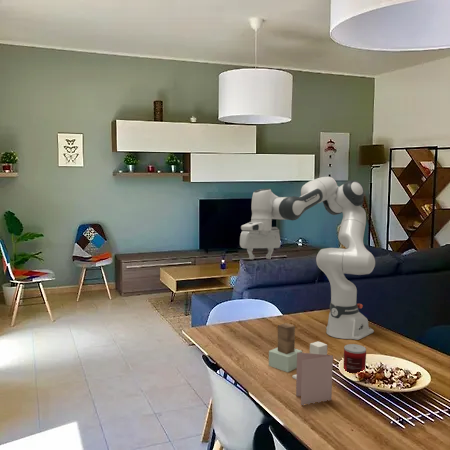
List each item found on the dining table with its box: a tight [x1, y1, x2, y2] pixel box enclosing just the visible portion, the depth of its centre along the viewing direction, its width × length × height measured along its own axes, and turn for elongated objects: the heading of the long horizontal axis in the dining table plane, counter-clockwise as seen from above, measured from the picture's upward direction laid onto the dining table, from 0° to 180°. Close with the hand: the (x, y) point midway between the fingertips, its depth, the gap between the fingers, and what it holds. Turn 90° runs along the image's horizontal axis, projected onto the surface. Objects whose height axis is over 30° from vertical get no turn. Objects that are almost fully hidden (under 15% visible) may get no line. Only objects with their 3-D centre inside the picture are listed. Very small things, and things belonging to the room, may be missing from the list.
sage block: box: [268, 346, 303, 373], centre depth 191 cm, size 9×9×6 cm
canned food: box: [343, 343, 367, 373], centre depth 180 cm, size 8×8×11 cm
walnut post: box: [277, 322, 296, 354], centre depth 190 cm, size 4×4×10 cm
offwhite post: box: [309, 341, 328, 355], centre depth 186 cm, size 4×4×10 cm
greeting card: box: [295, 352, 334, 406], centre depth 161 cm, size 11×7×15 cm, turn 77°
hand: (260, 258), depth 214 cm, fingers open, 8 cm apart
